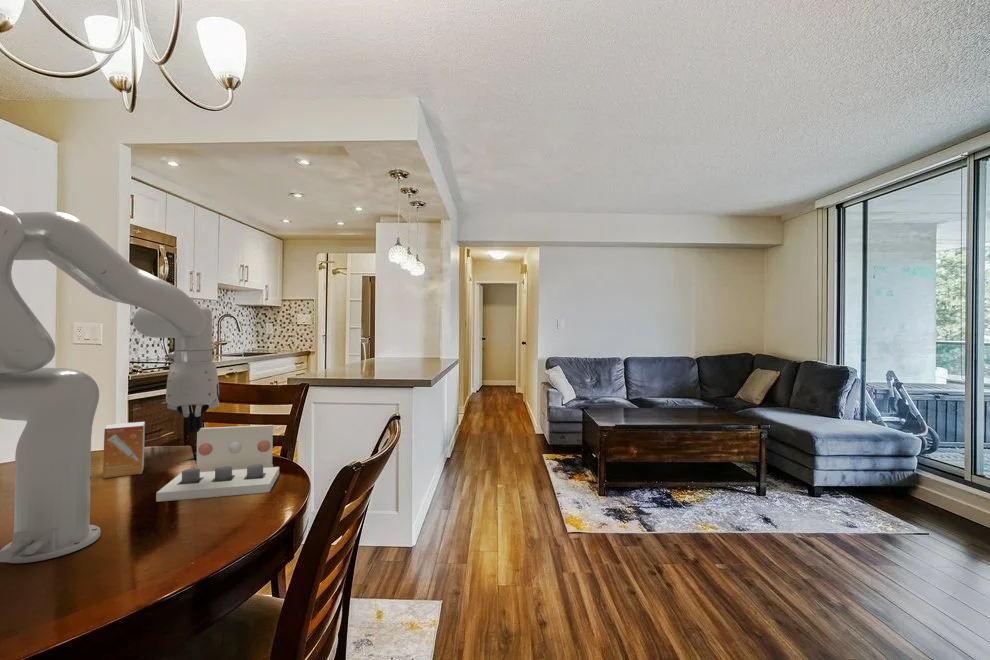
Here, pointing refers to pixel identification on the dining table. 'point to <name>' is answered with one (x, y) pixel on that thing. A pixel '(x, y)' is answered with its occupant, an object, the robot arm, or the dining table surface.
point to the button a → (191, 476)
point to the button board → (218, 485)
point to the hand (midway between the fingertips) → (193, 432)
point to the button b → (223, 474)
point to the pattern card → (234, 447)
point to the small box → (123, 449)
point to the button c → (255, 471)
